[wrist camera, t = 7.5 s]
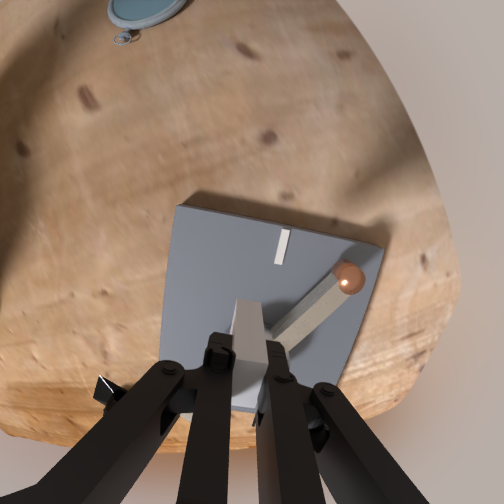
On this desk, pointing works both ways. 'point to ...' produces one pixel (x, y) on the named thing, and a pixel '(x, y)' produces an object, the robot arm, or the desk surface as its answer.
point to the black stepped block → (108, 393)
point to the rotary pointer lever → (313, 308)
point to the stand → (258, 286)
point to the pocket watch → (140, 14)
